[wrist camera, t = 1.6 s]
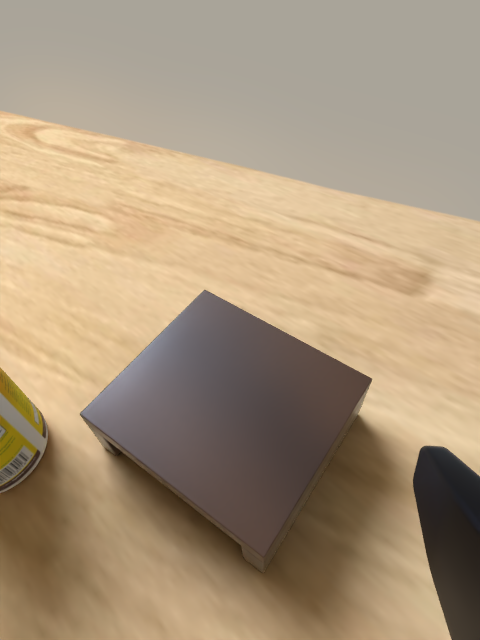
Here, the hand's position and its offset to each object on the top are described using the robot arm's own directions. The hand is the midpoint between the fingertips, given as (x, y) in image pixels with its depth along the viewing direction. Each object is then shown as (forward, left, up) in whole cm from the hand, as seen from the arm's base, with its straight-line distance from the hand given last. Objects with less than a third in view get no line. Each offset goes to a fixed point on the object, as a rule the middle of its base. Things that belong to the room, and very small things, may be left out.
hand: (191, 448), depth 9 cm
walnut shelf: (+6, +4, -15) cm, 17 cm away
